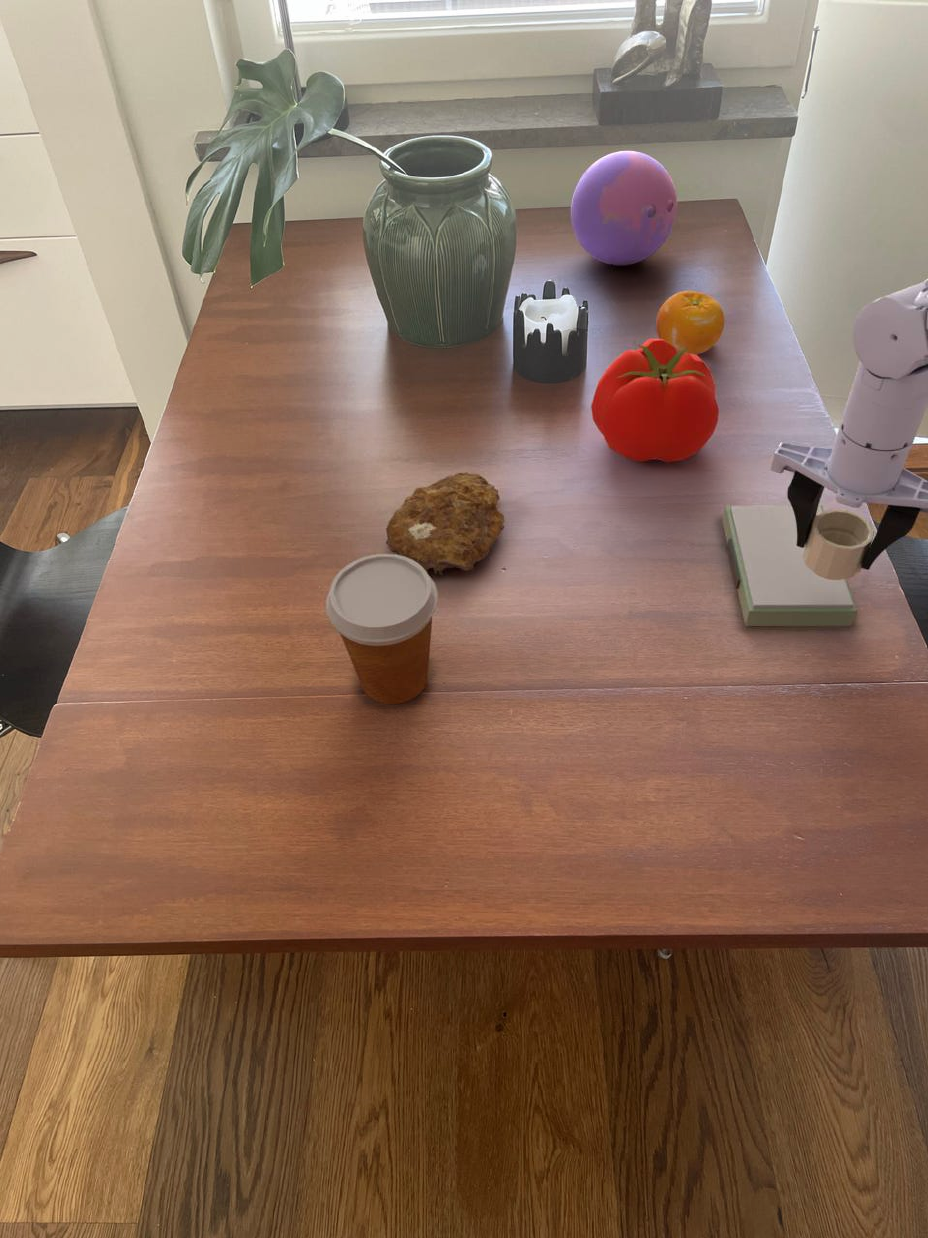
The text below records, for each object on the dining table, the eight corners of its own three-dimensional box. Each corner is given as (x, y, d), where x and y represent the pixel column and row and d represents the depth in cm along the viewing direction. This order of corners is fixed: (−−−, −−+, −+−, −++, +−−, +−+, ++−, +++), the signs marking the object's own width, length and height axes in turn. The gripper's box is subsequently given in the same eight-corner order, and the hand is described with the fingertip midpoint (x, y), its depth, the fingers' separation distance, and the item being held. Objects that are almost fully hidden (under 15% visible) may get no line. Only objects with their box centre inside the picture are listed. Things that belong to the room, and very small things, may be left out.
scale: (851, 626, 88) (858, 607, 86) (742, 626, 89) (747, 608, 87) (817, 520, 98) (823, 502, 96) (719, 521, 99) (723, 502, 97)
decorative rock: (429, 482, 106) (374, 573, 97) (424, 454, 102) (367, 545, 94) (523, 498, 102) (475, 594, 93) (521, 469, 99) (471, 566, 90)
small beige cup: (872, 565, 85) (886, 530, 82) (836, 592, 83) (849, 557, 80) (825, 536, 88) (837, 501, 85) (789, 562, 86) (800, 527, 83)
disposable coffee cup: (325, 700, 85) (302, 612, 76) (373, 627, 90) (357, 538, 82) (417, 732, 82) (405, 645, 73) (461, 656, 88) (455, 566, 79)
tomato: (715, 483, 103) (733, 394, 94) (587, 479, 104) (593, 390, 95) (708, 413, 111) (724, 325, 103) (589, 409, 113) (595, 322, 104)
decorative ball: (621, 295, 131) (630, 188, 120) (548, 259, 139) (550, 155, 128) (691, 259, 137) (706, 154, 126) (617, 226, 145) (625, 124, 134)
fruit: (689, 352, 114) (700, 284, 112) (638, 350, 120) (648, 285, 119) (731, 360, 119) (742, 295, 117) (679, 357, 126) (689, 296, 124)
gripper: (773, 430, 75) (742, 551, 85) (961, 485, 69) (905, 607, 79) (800, 385, 79) (768, 506, 89) (981, 434, 73) (924, 557, 83)
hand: (834, 551), depth 84 cm, fingers closed on small beige cup, 5 cm apart
